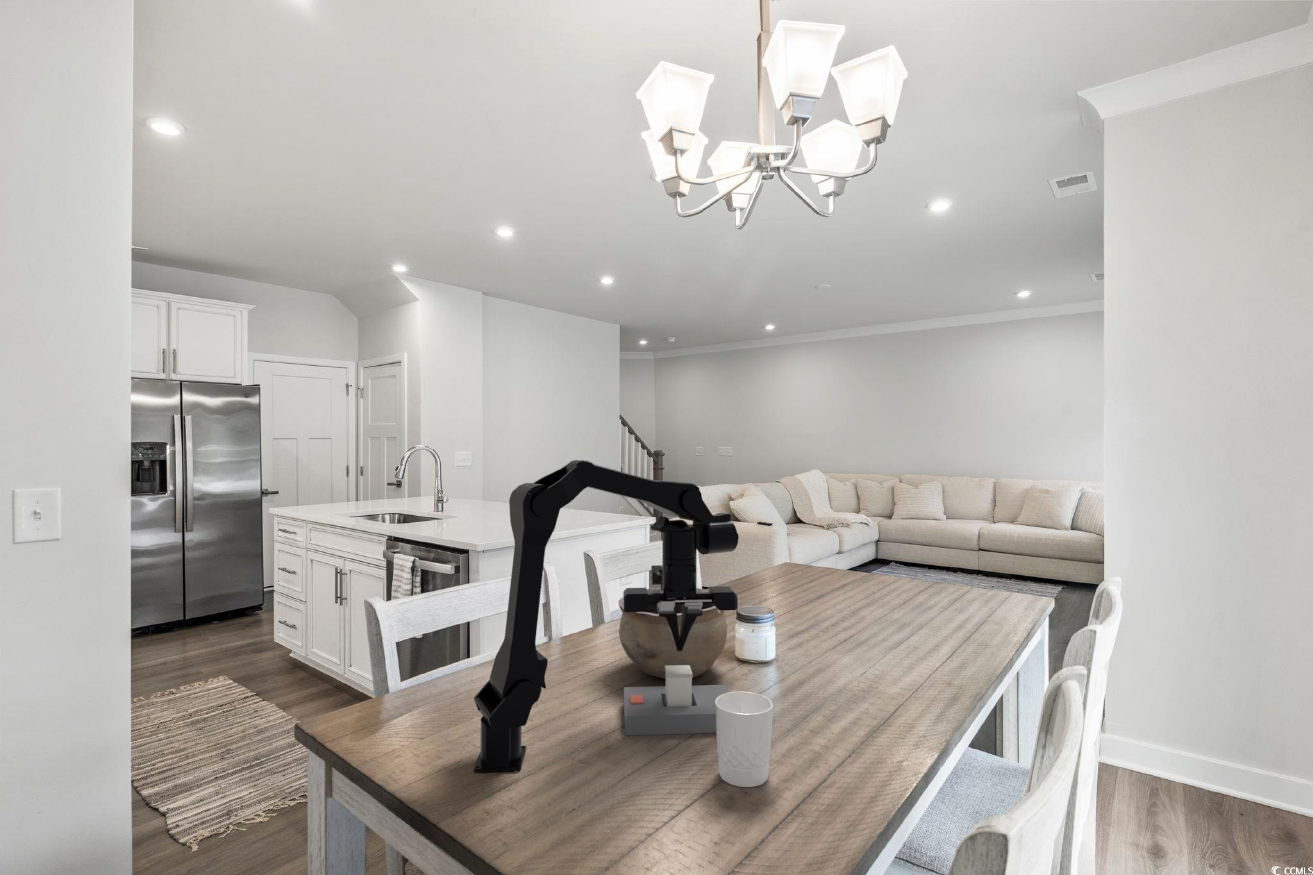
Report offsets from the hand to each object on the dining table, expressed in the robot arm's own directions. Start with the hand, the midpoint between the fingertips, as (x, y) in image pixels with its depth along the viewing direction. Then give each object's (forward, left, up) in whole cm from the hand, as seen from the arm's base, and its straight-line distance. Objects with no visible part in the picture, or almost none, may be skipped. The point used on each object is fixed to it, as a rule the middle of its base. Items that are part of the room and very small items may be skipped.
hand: (679, 650), depth 107 cm
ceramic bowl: (+21, -1, -11) cm, 24 cm away
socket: (0, 0, -11) cm, 11 cm away
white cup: (-19, -7, -11) cm, 23 cm away
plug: (0, 0, -11) cm, 11 cm away
